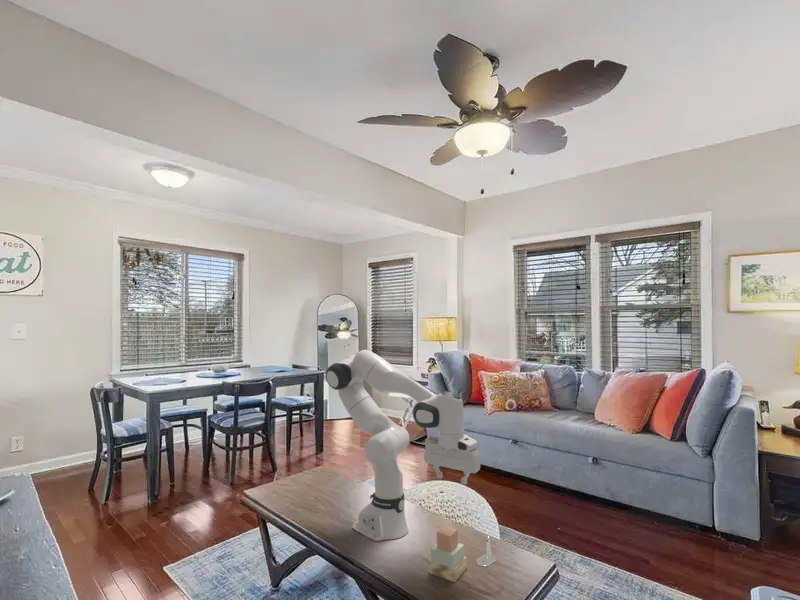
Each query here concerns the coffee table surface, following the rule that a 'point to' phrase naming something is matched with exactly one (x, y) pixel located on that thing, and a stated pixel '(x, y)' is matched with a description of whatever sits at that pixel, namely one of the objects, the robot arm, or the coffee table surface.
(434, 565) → the tower base
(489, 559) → the stand
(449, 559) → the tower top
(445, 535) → the terracotta block
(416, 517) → the coffee table surface
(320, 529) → the coffee table surface
